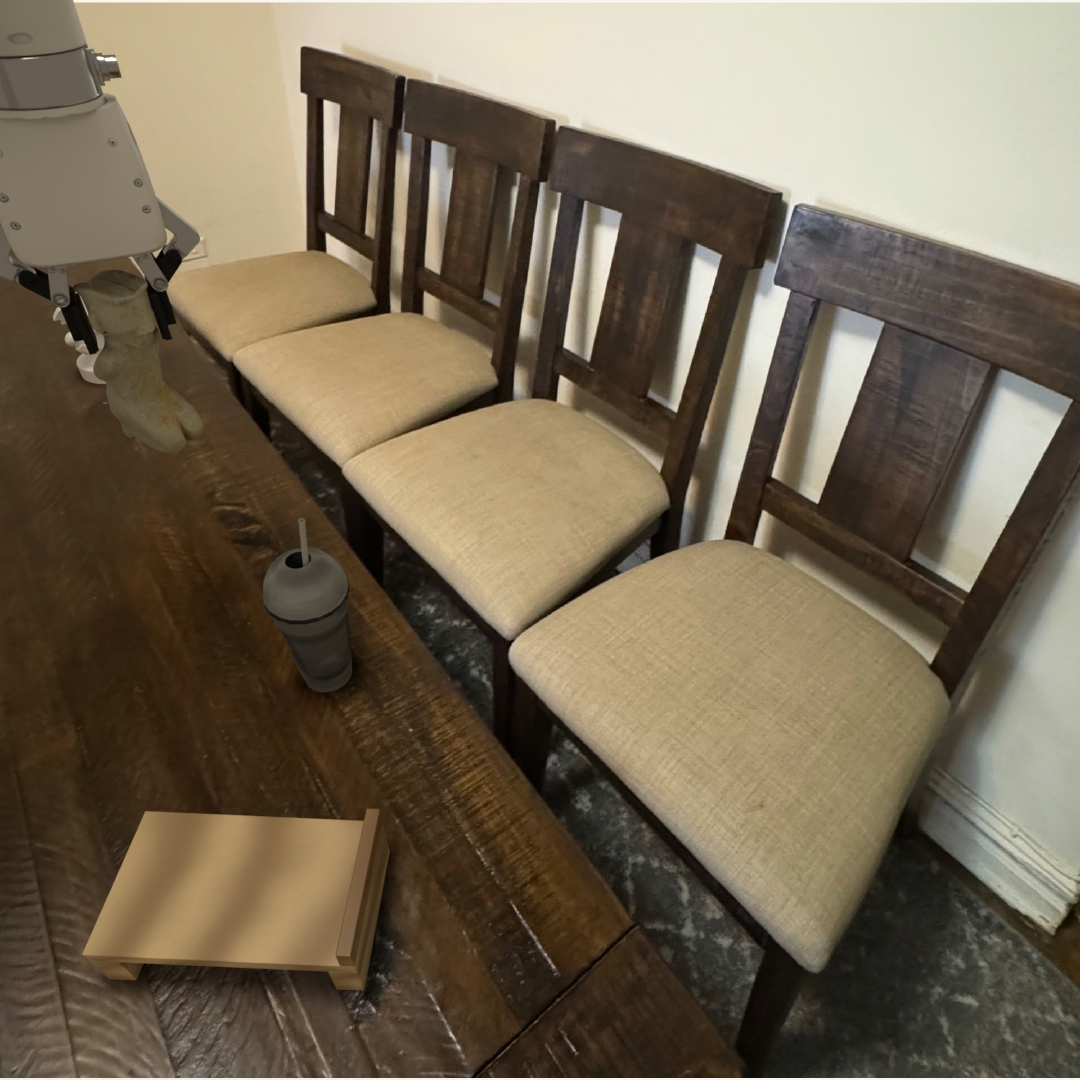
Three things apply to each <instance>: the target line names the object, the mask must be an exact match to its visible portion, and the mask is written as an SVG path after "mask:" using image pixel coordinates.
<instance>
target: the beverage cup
mask: <svg viewBox="0 0 1080 1080" xmlns="http://www.w3.org/2000/svg"><path fill="white" fill-rule="evenodd" d="M298 530H299V539H300V540H299V541H300V547H295V548H292V549H289V550H287V551H284V552H283V553H282V554H280V555H278V556H277V557H276V558H275V559H274V560H273V562H272V563H271V564H270V565H269V567H268V569H267V570H266V573H265V577H264V579H263V583H262V600H263V601H262V602H263V607H264V609H265V610H266V612H267V614H268V615H269V616H270V617H271V619H272V620H273V622H274V623H275V624H276V626H277V628H278V629H279V631H280V633H281V635H282V637H283V639H284V642H285V644H286V645H287V648H288V650H289V652H290V654H291V657H292V658H293V661H294V663H295V665H296V667H297V670H298V671H299V674H300V675H301V676H302V678H303V679H304V681H305V684H306V685H307V687H308V688H309V689H311V690H312V691H315V692H317V693H331V692H334V691H337V690H339V689H342V688H343V687H344V686H345V685H346V684H347V683H348V682H349V680H350V679H351V677H352V675H353V664H352V663H353V654H352V643H351V634H350V633H351V632H350V631H351V630H350V621H349V620H350V619H349V611H348V609H349V608H348V607H349V599H350V590H351V587H350V582H349V578H348V577H347V575H346V574H345V571H344V569H343V567H342V566H341V564H339V562H338V561H337V559H335V558H334V556H332V555H330V554H329V553H327V552H325V551H324V550H322V549H318V548H314V547H308V540H307V539H308V538H307V529H306V519H305V518H303V517H301V518H298Z"/></svg>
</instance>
